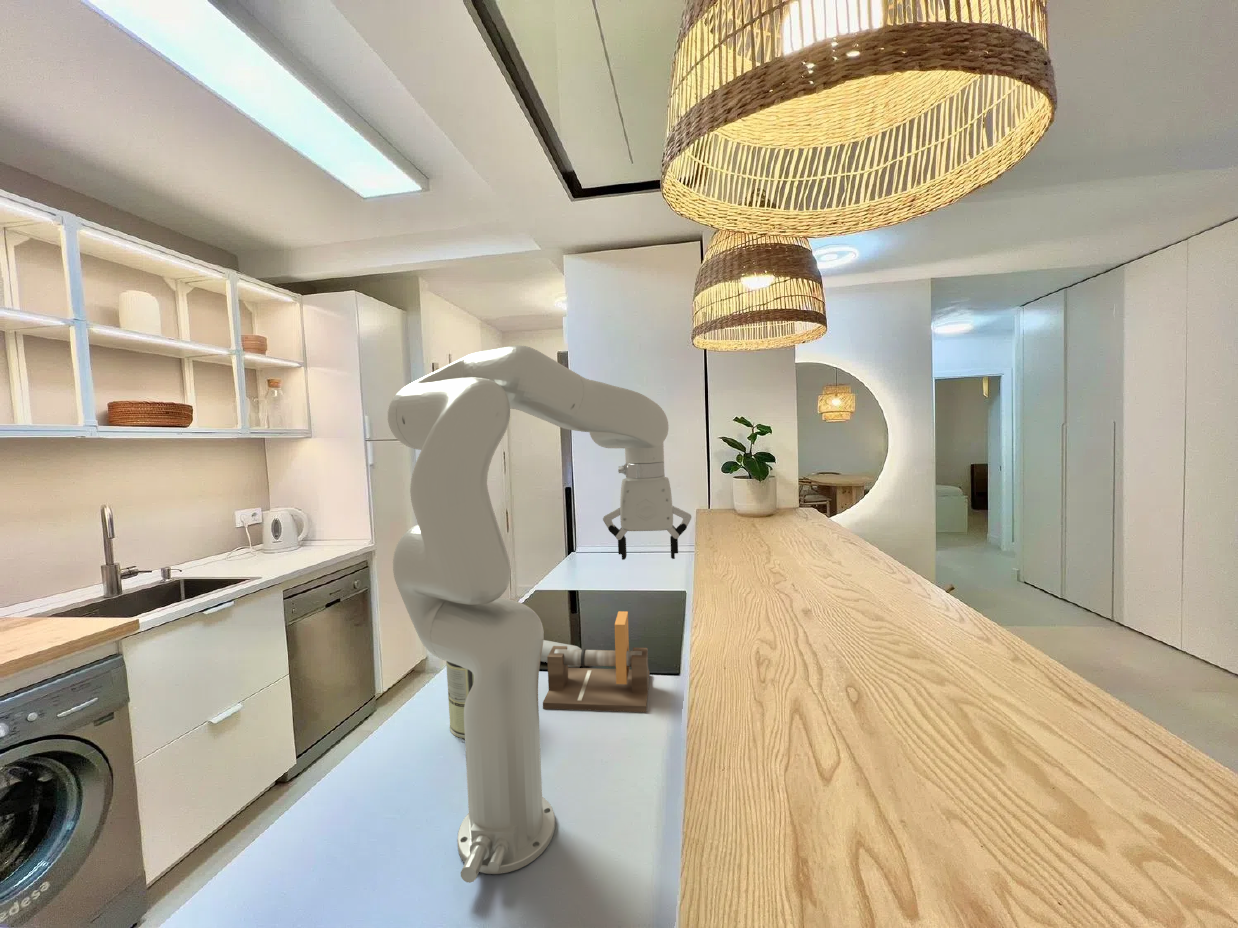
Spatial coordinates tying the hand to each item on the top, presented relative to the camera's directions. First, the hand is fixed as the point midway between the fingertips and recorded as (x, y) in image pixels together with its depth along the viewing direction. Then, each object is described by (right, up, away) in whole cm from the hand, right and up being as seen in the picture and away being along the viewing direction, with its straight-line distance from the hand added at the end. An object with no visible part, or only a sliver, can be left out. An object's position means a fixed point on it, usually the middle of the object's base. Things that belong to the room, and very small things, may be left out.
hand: (648, 557), depth 95 cm
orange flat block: (-5, -25, +3) cm, 25 cm away
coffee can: (-32, -30, -6) cm, 44 cm away
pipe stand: (-10, -28, +4) cm, 30 cm away
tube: (-25, -28, +19) cm, 43 cm away
